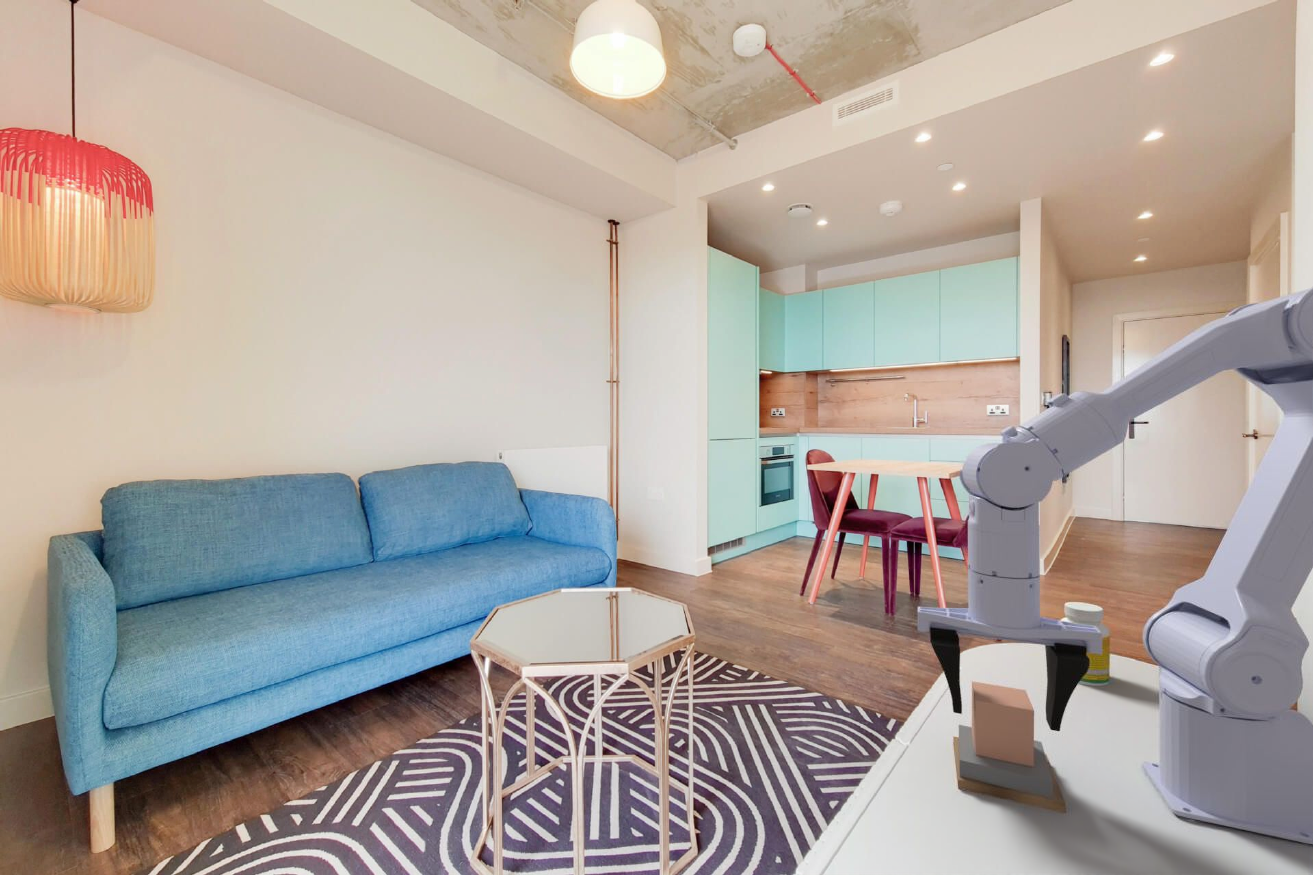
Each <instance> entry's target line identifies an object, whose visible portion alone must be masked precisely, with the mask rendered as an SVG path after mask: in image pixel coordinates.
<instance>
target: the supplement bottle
mask: <svg viewBox="0 0 1313 875" xmlns="http://www.w3.org/2000/svg"><path fill="white" fill-rule="evenodd" d="M1063 611H1064V615H1065V617H1063V618H1061V619H1060V621H1065V622H1071V623H1077V624H1083V625H1091V626H1096V627H1097V628H1098V629H1099V630H1100V631H1101V633H1102V655H1100V654H1092V653H1088V652H1086V655H1087V656H1088V658H1089V659H1090V665H1089V669H1088V671H1087V673H1086V674H1085V675H1084V676H1083V678H1082V679H1081V680H1080V682H1079V683H1078V684H1077V685H1083V686H1084V685H1085V686H1094V687H1100V686H1101V687H1102V686H1106V685H1108V684H1109V683H1110V672H1111V671H1110V669H1111V668H1110V667H1111V666H1110V663H1111V662H1110V660H1111V648H1110V647H1111V643H1110V642H1111V640H1110V638H1111V635H1110V634H1111V633H1110V629H1109V628H1108V626H1106V624H1105V623H1102V621H1103V619H1104V617H1105V615H1104V609H1103V608H1102V606H1099V605H1096V604H1092V603H1087V602H1081V601H1068V602H1064V610H1063Z"/></svg>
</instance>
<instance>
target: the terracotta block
mask: <svg viewBox="0 0 1313 875" xmlns="http://www.w3.org/2000/svg"><path fill="white" fill-rule="evenodd" d="M971 727H972V736H973V742H974V748H975V754H976V755H979V756H984V757H989V758H994V759H998V760H1003V761H1008V762H1013V763H1017V764H1022V765H1027V766H1032V767H1034V740H1035V710H1034V707H1033V704H1032V702H1031V699H1030V697H1029V695H1028V693H1027V691H1026V689H1021V688H1016V687H1009V686H1003V685H998V684H997V685H996V684H991V683H984V682H978V681H972V680H971Z"/></svg>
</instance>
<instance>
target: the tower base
mask: <svg viewBox="0 0 1313 875" xmlns="http://www.w3.org/2000/svg"><path fill="white" fill-rule="evenodd" d="M952 738H953V741H952V742H953V743H952V745H953V752H954V753H953V754H954V762H955V771H956V772H955V773H956V781H957V782H956V783H957V790H958V789H959V790H962V791H968V792H972V793H974V794H975V793H977V794H981V795H984V796H985V795H986V796H989V797H994V798H999V799H1002V800H1007V801H1011V802H1014V803H1015V802H1016V803H1019V804H1025V805H1028V806H1034V807H1037V808H1043V809H1046V810H1050V811H1056V812H1058V813H1059V812H1060V813H1064V814H1066V812H1067V811H1066V807H1067V804H1066V800H1065V798H1064V796H1063V793H1062V789H1060V788H1061V787H1060V786H1059V783H1058V780H1057V778H1056V775H1055V772H1054V770H1053V767H1052V765H1051V763H1050V759H1049V758H1048V754H1046V753H1045V756H1046V759H1047V763H1048V766H1049V770H1050V773H1051V776H1052V780H1053V799H1050V798H1046V797H1041V796H1037V795H1033V794H1029V793H1025V792H1021V791H1017V790H1013V789H1009V788H1005V787H1001V786H997V785H993V784H989V783H985V782H981V781H977V780H972V779H968V778H964V777H960V773H959V736H953V737H952Z"/></svg>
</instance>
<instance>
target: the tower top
mask: <svg viewBox="0 0 1313 875" xmlns="http://www.w3.org/2000/svg"><path fill="white" fill-rule="evenodd" d="M958 737H959V773H960V777H964V778H968V779H972V780H977V781H981V782H985V783H989V784H993V785H997V786H1001V787H1005V788H1009V789H1013V790H1017V791H1021V792H1025V793H1029V794H1033V795H1037V796H1041V797H1046V798H1050V799H1053V780H1052V776H1051V773H1050V770H1049V766H1048V763H1047V759H1046V756H1045V754H1046V753H1045V749H1044V746H1043V743H1042V741H1038V740H1035V739H1034V767H1032V766H1027V765H1022V764H1017V763H1013V762H1008V761H1003V760H998V759H994V758H989V757H984V756H979V755H976V754H975V748H974V742H973V736H972V726H967V725H963V724H958Z"/></svg>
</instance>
